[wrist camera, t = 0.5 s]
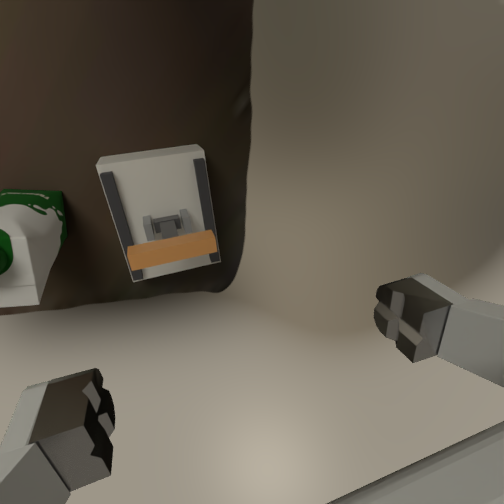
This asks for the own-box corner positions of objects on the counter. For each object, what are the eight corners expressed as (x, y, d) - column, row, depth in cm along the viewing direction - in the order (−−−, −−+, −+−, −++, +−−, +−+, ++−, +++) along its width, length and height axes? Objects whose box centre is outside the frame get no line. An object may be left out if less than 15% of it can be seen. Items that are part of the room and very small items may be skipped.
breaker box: (100, 157, 44) (92, 171, 36) (196, 143, 48) (208, 154, 40) (133, 264, 53) (133, 294, 45) (213, 246, 56) (225, 272, 48)
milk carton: (68, 184, 44) (26, 241, 28) (75, 242, 48) (42, 322, 31) (-7, 181, 41) (-104, 242, 25) (7, 242, 45) (-70, 332, 28)
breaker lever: (129, 222, 43) (127, 255, 34) (199, 208, 45) (215, 237, 36) (132, 235, 44) (131, 270, 35) (202, 221, 46) (217, 251, 37)
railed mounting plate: (100, 172, 40) (99, 175, 39) (202, 157, 43) (204, 159, 42) (133, 276, 47) (133, 281, 46) (218, 256, 51) (220, 260, 49)
